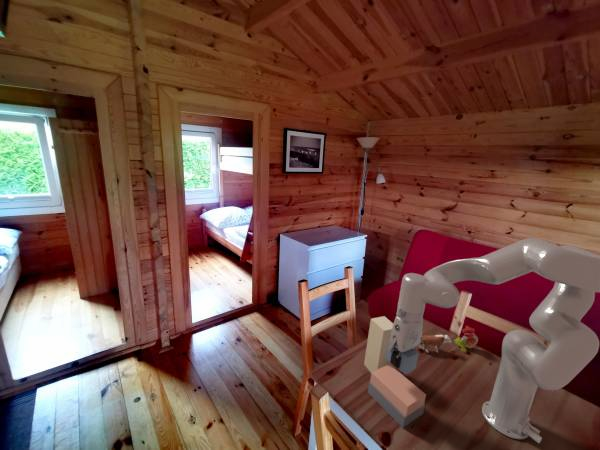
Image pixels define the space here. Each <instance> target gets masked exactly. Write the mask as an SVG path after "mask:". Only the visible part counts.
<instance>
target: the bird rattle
mask: <svg viewBox="0 0 600 450" xmlns="http://www.w3.org/2000/svg"><path fill="white" fill-rule="evenodd" d="M462 333H463V334H464V335H463V336H462V337H461V338H460V337H459V336H457V338H455V339H454V340H453V342H454V343H455V344H456V347H461V348H460V350H461V351H462V352H463V353H464V352H465V353H467V348H469V349H472V348H473V347H475V346H476V345H477V344H478V342H479V338H478V336H477V335H476V333H475V328H474V327H473V328H472V327H470V326H469V325H466V326H465V328H463V329H462Z"/></svg>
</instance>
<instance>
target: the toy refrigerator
mask: <svg viewBox="0 0 600 450" xmlns="http://www.w3.org/2000/svg"><path fill="white" fill-rule="evenodd" d="M393 324H394V322H392V321H391V320H389V319H388V318H387V317H386V316H385V315H383V316H379V317H378V316H377V317H373V318H370V322H369V329H368V337H367V343H366V349H365V354H364V355H365V356H364V363H363V365H364V366H365V368H366V369H367V370H368V372H369V373H370V374H371V373H372V372H374V371H376V370H378V369H380V368H382V367H384V366H386V365H388V364H390V365H391V366H392V364H391V363H390V361H389V360H387V359H386V358H385V357H386V351H387V345H388V342H390V336H391V331H392V327H393Z"/></svg>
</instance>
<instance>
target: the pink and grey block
mask: <svg viewBox="0 0 600 450" xmlns="http://www.w3.org/2000/svg"><path fill="white" fill-rule="evenodd" d="M367 387H368V388H367V393H368V394H369V395H370V396H371V397H372V398H373V399H374V400H375V401H376V402H377V403H378V405H380V406H381V408H382V409H383V410H385V412H386V413H387V414H388V415H389V416H390V417H391V418H392V419H393V420H394V421H395V422H396V423H397V424H398V425H399V426H400V427H401V428H402V429H403V428H405V427H406V426H408V425H410V423H412V422H414V421H415V420H417V419H418V418H420V417H421V416H422V415H423V414H424V410H425V405H426V404H425V401H426V397H427V394H426V393H425V392H423V390H421V389H420V388H419V387H418V386H416V385H415V384H414V383H412V381H410V380H409V379H408V378H407V377H405V376H404V374H402V373H401V371H398V370H397V368H396V367H395V366H393V365H392V364H391V365H390V364H388V365H386V366H384V367H382V368H380V369H378V370H376V371H374V372H372V373H370V381H369V382H368V386H367Z"/></svg>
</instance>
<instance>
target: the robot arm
mask: <svg viewBox="0 0 600 450" xmlns="http://www.w3.org/2000/svg"><path fill="white" fill-rule="evenodd" d="M531 272H533V273H535V274H537V275H539V276H541V277H543V278H544V279H547V280H549V281H552V282H554V284H553V288H552V289H551V290H550V291H549V293H548V294H547V296H545V298H544V299H543V300H542V301H541V302H540V303H539V305H538V306H537V307H536V308H535V309H534V311H533V312H532V313H531V315H530V316H529V319H528V320H529V325H530V327H531V328H532V329H533V330H534V331H535V332H536V333H537V334H538V335H539V337H541V339H543V340H544V341H545V342H547V344H549V345H548V346H547V345H546V344H545V343H544V342H543V341H542V340H540V338H538V337H537V336H535V335H534V334H533V333H530V332H529V331H526V330H523V329H515V330H514V329H513V330H510V331H509V332H507V333H506V334H505V336H504V337H503V340H502V343H501V344H502V345H501V360H500V365H499V368H498V371H497V376H496V378H495V382H494V385H493V390H492V393H491V397H490V400H487V401H485V402H484V403H483V404H482V406H481V413H482V415H483V417H484V419H485V420H486V421H487V423H488V424H489V425H490V426H491V427H492V428H494V429H495V430H497V431H498V432H499V433H501V434H503V435H504V436H507V437H509V438H511V439H515V440H525V439H527V438H529V437H530V438H531V439H532V440H534V441H535V442H536V443H538V445H539V444H540V443H541V442H542V440H543V437H542V436H541V435H540V433H541V430H539V429H538V428H536V427H535V426H533V425H532V423H530V421H531V417H530V416H529V413H530V411H531V408H532V405H533V401H534V398H535V395H536V393H537V389H538V388H540V389H542V390H545V391H556V390H557V391H558V390H560V389H562V388H564V387H565V386H566V385H568V384H569V383H570V382H571V381H572V380H573V379H574V378H575V377H576V376H577V375H579V373H580V372H581V371H582V370H583V369H584V368H586V366H587V365H588V364H589V363H590V362H591V361H592V360H593V359H594V358H595V357H596V355H597V354H598V352H599V348H600V340H599V337H598V336H597V334H596V332H595V331H593V330H592V329H591V328H590V327H589V326H587V325H586V324H584V323H583V322H581V320H583V319H582V318H583V317H584V316H585V315H586V314H587V313H588V312H589V310H590V309H591V308H592V306H593V304H594V302H595V297H596V296H595V295H596V293H600V255H599V254H597V253H593V252H592V251H589V250H585V249H582V248H580V247H576V246H573V245H561V246H559V245H556V244H554V243H551V242H549V241H547V240H544V239H542V238H538V237H527V238H524V239H521V240H518V241H516V242H513V243H512V244H509V245H506V246H504V247H503V248H500V249H496V250H495V251H492V252H489V253H488V254H485V255H483V256H480V257H471V258H463V259H455V260H451V261H447V262H444V263H442V264H440V265H437V266H435V267H433V268H431V269H429V270H428V271H426V272H425V273H424V274H423V275H422V274H419V273H414V272H409V273H405V274H404V275H403V277H402V280H401V285H400V291H399V295H398V296H399V297H398V302H397V306H396V307H397V308H396V316H395V318H394V321H393V327H392V331H391V336H390V344H389V346H388V348H387V350H388V351H389V352H391V353H392V354H391V360H390V363H391V366H393V367H394V368H395V369H396V370H397V369H398V368H399V367H400V361H401V357H400V355H401V352H405V351H408V350H410V349H412V348H413V349H414V350H416V349H415V348H416V347H418V346H419V344H420V342H421V338H422V336H423V330H424V328H423V327H424V317H423V316H424V312H425V309H426V304H429V305H433V306H436V307H438V308H442V309H444V308H445V309H451V308H454V307H456V306H457V305H458V304H459V302H460V301H461V294H460V292H459V290H458V288H457V286H455V285H454V284H456V283H458V282H459V283H460V282H464V281H475V282H481V283H485V284H491V285H500V284H503V283H506V282H508V281H511V280H513V279H516V278H519V277H521V276H525V275H527V274H530V273H531ZM396 348H397V349H398V353H397V352H396V351H395V349H396Z"/></svg>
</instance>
